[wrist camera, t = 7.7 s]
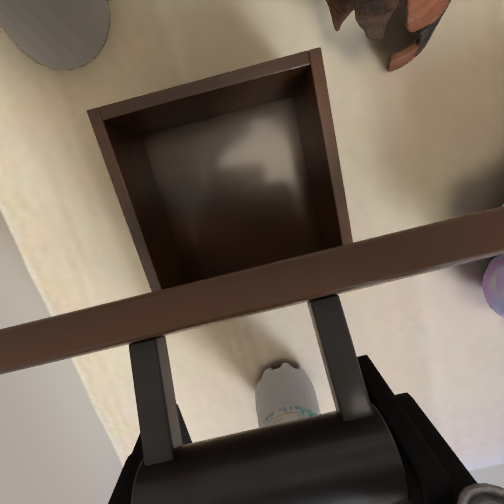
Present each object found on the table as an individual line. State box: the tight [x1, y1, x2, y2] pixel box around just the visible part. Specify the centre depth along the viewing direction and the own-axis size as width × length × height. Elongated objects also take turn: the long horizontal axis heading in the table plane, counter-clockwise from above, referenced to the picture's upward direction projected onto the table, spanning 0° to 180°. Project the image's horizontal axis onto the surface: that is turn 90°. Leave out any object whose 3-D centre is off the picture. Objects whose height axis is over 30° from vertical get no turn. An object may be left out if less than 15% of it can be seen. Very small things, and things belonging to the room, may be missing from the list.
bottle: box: [255, 363, 321, 428], centre depth 23 cm, size 7×7×20 cm
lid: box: [0, 206, 504, 504], centre depth 13 cm, size 16×15×5 cm
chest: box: [87, 47, 353, 292], centre depth 23 cm, size 16×15×8 cm
